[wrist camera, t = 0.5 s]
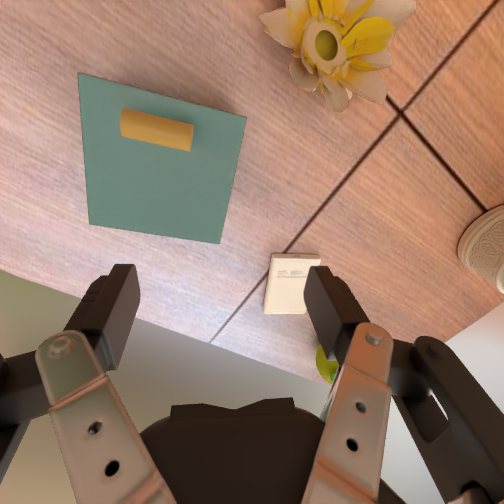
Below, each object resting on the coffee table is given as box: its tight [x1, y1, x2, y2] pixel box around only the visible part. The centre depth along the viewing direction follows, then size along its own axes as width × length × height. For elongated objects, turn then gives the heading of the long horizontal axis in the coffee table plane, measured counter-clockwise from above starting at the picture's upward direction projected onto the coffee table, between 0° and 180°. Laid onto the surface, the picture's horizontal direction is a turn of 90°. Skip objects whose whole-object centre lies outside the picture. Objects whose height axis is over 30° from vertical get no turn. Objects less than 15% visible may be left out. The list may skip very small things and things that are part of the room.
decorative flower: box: [258, 0, 416, 112], centre depth 25 cm, size 15×11×10 cm
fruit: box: [316, 344, 339, 384], centre depth 53 cm, size 9×9×10 cm
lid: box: [77, 72, 247, 244], centre depth 24 cm, size 13×14×5 cm
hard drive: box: [263, 253, 321, 314], centre depth 47 cm, size 2×8×12 cm
